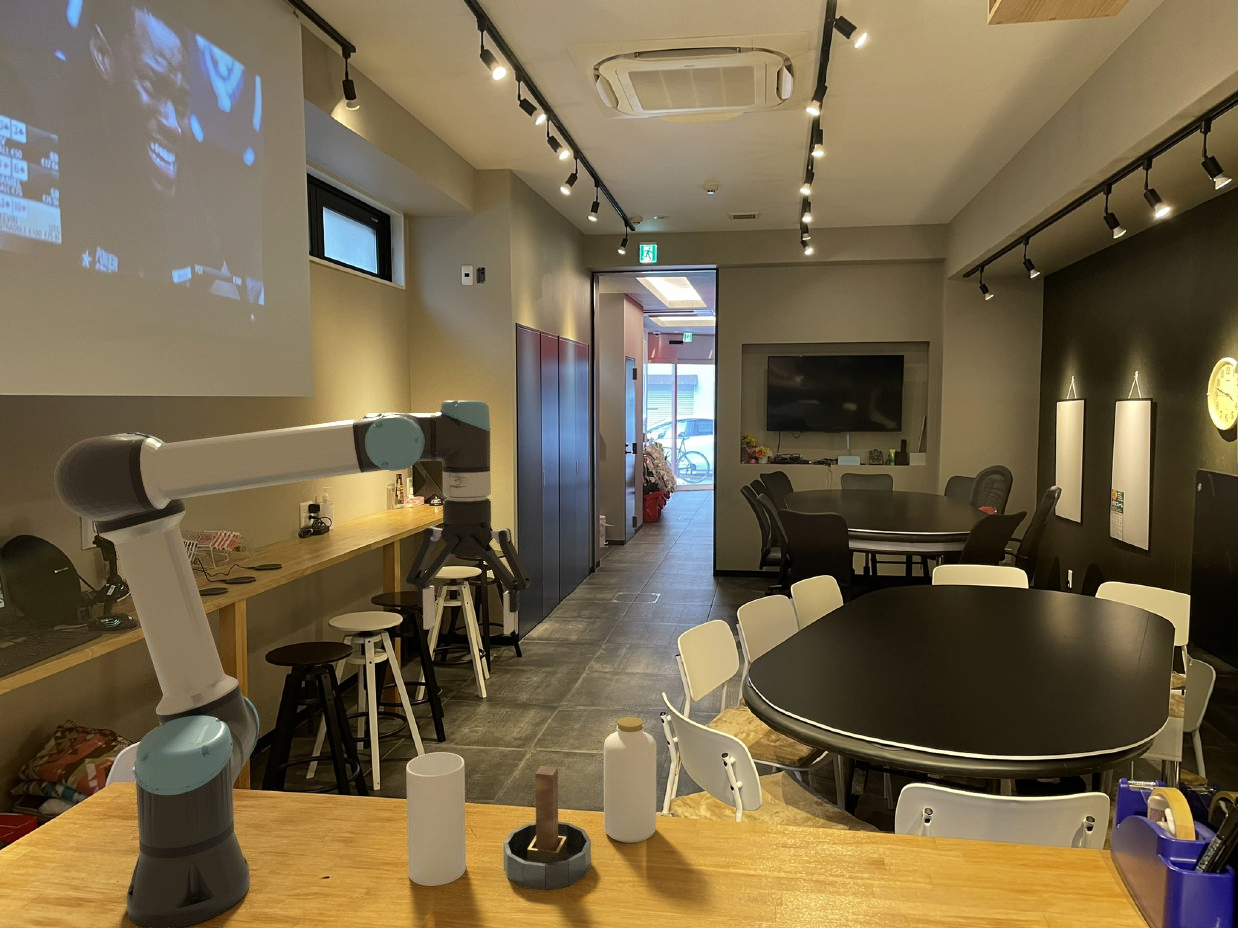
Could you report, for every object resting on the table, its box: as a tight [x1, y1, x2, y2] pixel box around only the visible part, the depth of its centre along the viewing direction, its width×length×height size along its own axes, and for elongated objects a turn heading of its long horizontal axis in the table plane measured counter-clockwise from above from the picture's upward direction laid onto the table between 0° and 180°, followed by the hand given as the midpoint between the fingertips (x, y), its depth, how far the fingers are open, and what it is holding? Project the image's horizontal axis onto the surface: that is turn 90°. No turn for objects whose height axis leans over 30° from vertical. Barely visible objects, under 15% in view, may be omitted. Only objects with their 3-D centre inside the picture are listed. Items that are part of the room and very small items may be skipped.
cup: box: [405, 751, 467, 887], centre depth 123 cm, size 8×8×16 cm
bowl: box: [503, 821, 592, 891], centre depth 125 cm, size 12×12×4 cm
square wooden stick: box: [535, 765, 559, 851], centre depth 124 cm, size 3×3×14 cm
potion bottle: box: [603, 716, 657, 844], centre depth 134 cm, size 8×8×18 cm
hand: (468, 629), depth 136 cm, fingers open, 13 cm apart
